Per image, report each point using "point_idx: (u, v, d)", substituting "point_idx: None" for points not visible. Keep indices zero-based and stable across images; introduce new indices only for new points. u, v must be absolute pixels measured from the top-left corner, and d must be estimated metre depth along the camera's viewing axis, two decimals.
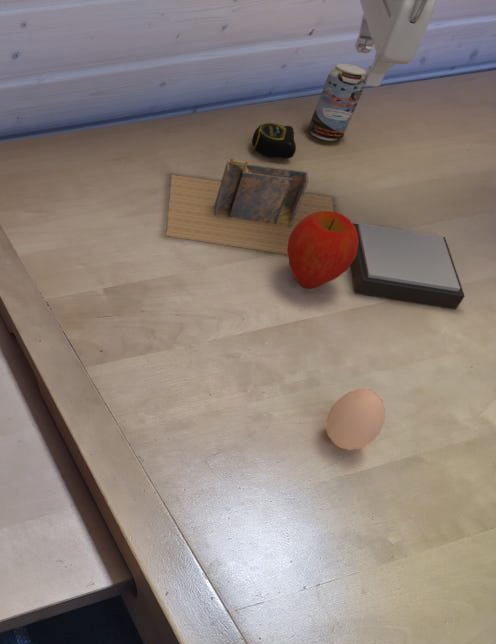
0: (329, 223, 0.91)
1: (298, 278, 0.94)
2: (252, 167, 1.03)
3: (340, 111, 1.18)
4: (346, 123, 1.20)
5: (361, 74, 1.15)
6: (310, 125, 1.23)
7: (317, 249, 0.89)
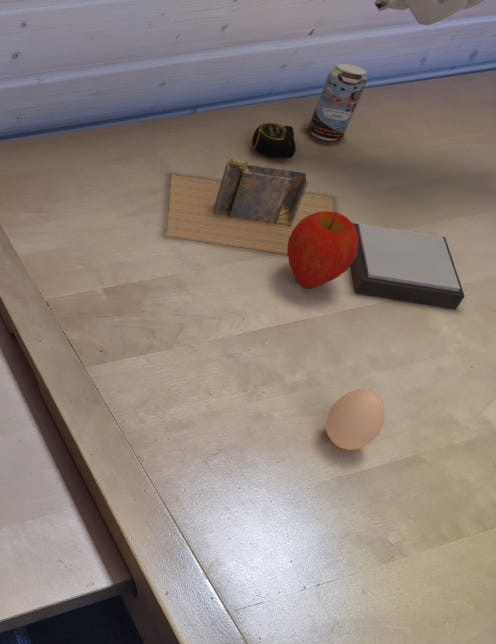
0: (329, 223, 0.91)
1: (298, 278, 0.94)
2: (252, 167, 1.03)
3: (340, 111, 1.18)
4: (346, 123, 1.20)
5: (361, 74, 1.15)
6: (310, 125, 1.23)
7: (317, 249, 0.89)
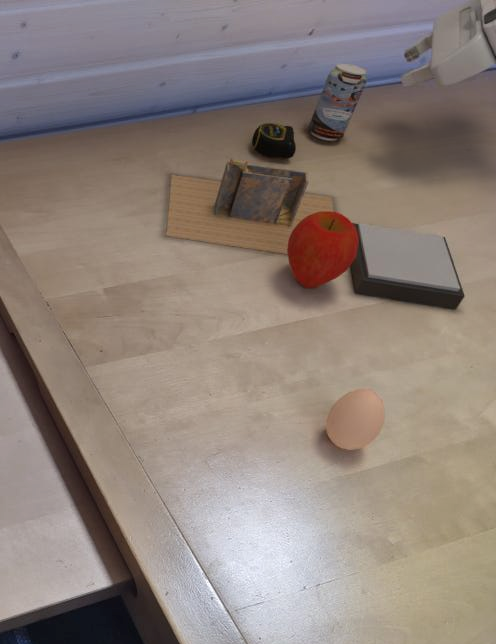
0: (329, 223, 0.91)
1: (298, 278, 0.94)
2: (252, 167, 1.03)
3: (340, 111, 1.18)
4: (346, 123, 1.20)
5: (361, 74, 1.15)
6: (310, 125, 1.23)
7: (317, 249, 0.89)
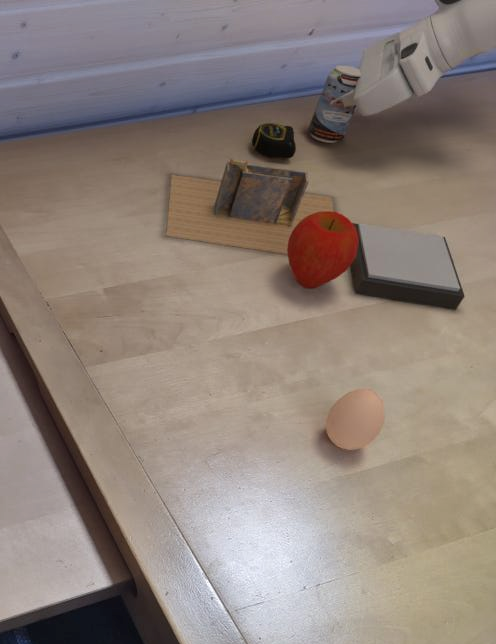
0: (329, 223, 0.91)
1: (298, 278, 0.94)
2: (252, 167, 1.03)
3: (340, 113, 1.18)
4: (346, 125, 1.20)
5: None
6: (310, 127, 1.22)
7: (317, 249, 0.89)
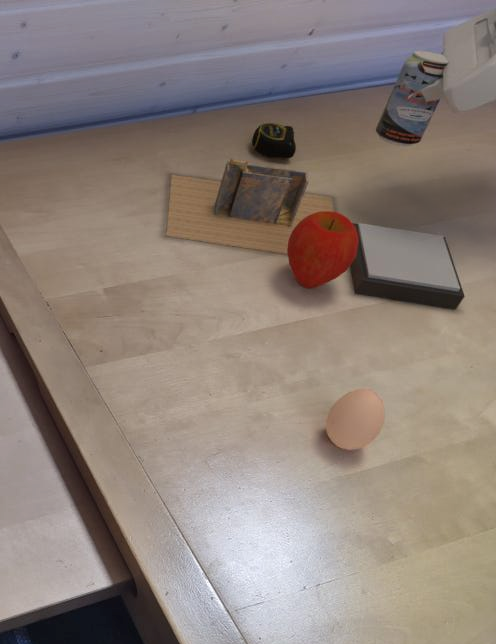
0: (329, 223, 0.91)
1: (298, 278, 0.94)
2: (252, 167, 1.03)
3: (420, 109, 0.95)
4: (426, 124, 0.97)
5: None
6: (379, 128, 0.99)
7: (317, 249, 0.89)
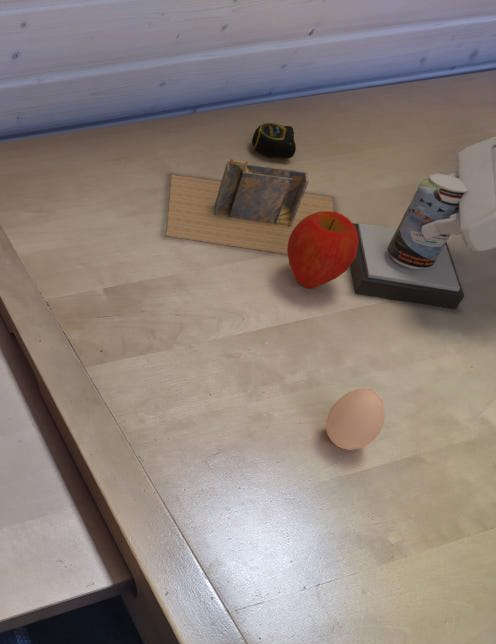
0: (329, 223, 0.91)
1: (298, 278, 0.94)
2: (252, 167, 1.03)
3: (435, 236, 0.90)
4: (441, 249, 0.92)
5: (465, 191, 0.87)
6: (391, 249, 0.95)
7: (317, 249, 0.89)
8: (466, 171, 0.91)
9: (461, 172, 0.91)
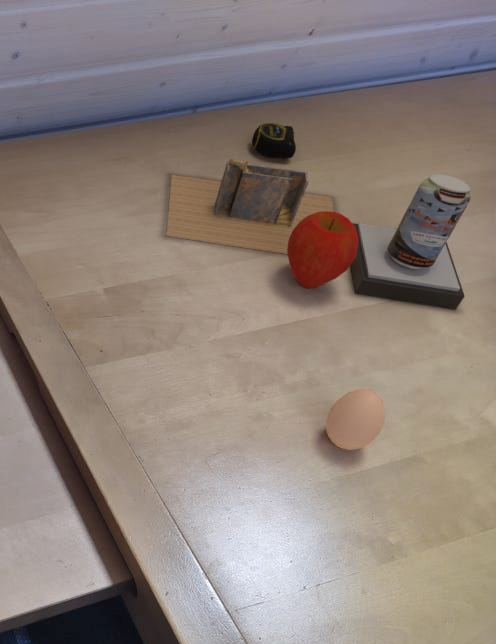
0: (329, 223, 0.91)
1: (298, 278, 0.94)
2: (252, 167, 1.03)
3: (435, 236, 0.90)
4: (441, 249, 0.92)
5: (465, 191, 0.87)
6: (391, 249, 0.95)
7: (317, 249, 0.89)
8: None
9: None
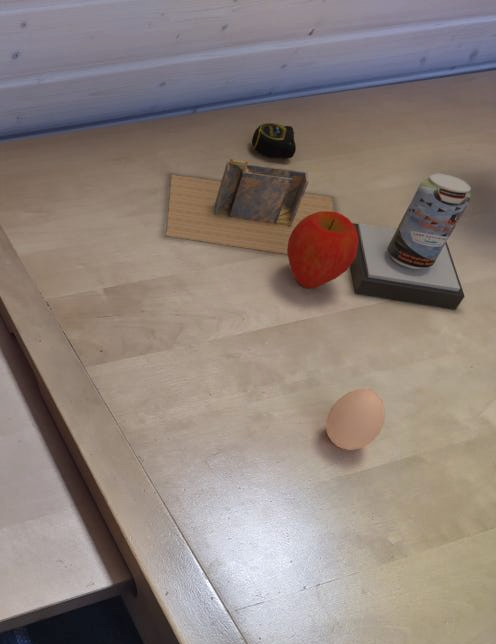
0: (329, 223, 0.91)
1: (298, 278, 0.94)
2: (252, 167, 1.03)
3: (435, 236, 0.90)
4: (441, 249, 0.92)
5: (465, 191, 0.87)
6: (391, 249, 0.95)
7: (317, 249, 0.89)
8: None
9: None
